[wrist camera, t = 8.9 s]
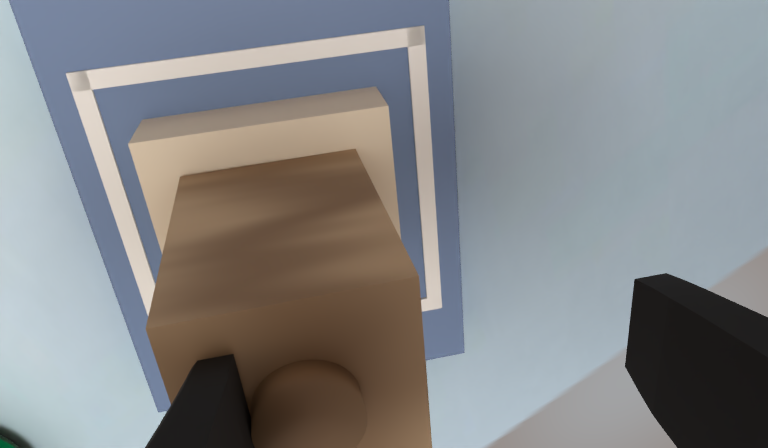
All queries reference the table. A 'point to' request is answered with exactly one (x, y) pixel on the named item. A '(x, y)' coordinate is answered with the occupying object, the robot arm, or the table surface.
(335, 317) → the oak block
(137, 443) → the table surface
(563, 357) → the table surface
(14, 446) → the soda can
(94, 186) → the blueprint board
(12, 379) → the table surface
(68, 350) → the table surface
